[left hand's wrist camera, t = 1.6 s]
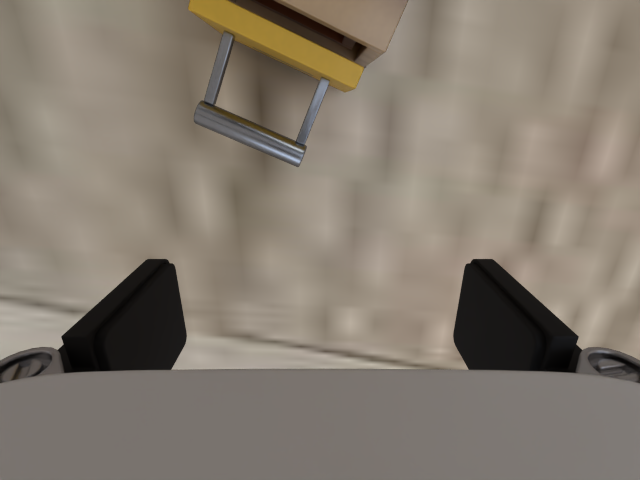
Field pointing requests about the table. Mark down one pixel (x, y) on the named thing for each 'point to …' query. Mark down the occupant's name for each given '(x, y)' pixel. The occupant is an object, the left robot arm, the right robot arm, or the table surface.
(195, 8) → the drawer
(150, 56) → the table surface
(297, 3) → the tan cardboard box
